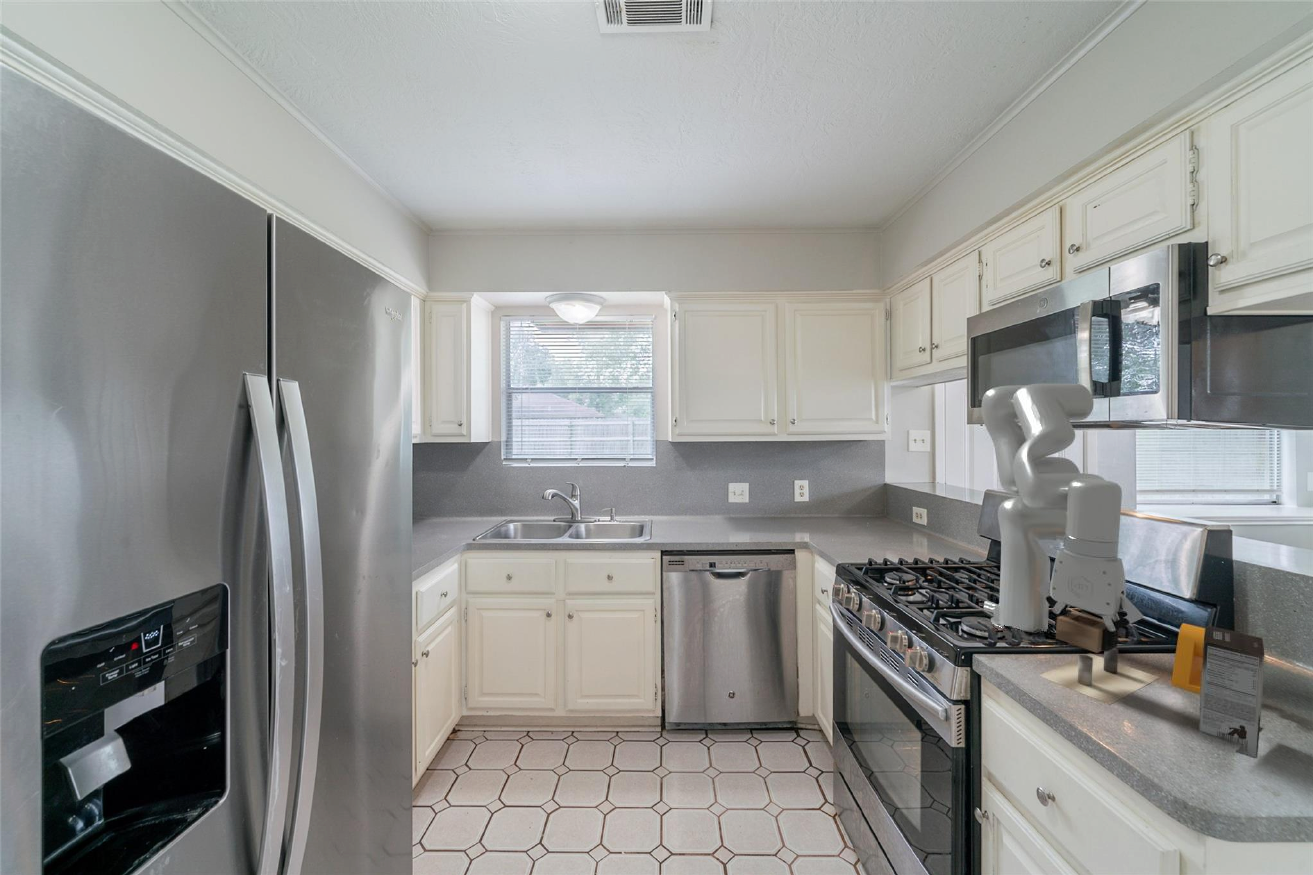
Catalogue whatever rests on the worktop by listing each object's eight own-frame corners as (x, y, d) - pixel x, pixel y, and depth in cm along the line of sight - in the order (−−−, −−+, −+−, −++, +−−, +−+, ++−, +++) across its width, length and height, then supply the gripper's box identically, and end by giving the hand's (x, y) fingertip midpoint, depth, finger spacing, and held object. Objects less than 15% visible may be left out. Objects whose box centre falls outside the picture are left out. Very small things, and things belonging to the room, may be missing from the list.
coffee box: (1199, 717, 88) (1205, 624, 87) (1257, 734, 83) (1263, 636, 83) (1196, 739, 82) (1202, 639, 81) (1258, 759, 77) (1265, 654, 76)
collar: (1055, 638, 98) (1057, 617, 97) (1073, 630, 101) (1074, 611, 100) (1096, 652, 92) (1098, 631, 92) (1114, 644, 95) (1115, 623, 95)
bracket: (1228, 712, 90) (1232, 644, 89) (1170, 693, 96) (1174, 629, 95) (1241, 694, 96) (1246, 630, 95) (1186, 677, 102) (1190, 617, 101)
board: (1038, 683, 99) (1039, 649, 99) (1089, 660, 108) (1091, 629, 108) (1109, 712, 89) (1111, 676, 89) (1159, 685, 98) (1161, 651, 98)
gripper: (1027, 538, 101) (1022, 627, 102) (1142, 563, 86) (1134, 667, 87) (1048, 533, 104) (1043, 619, 106) (1162, 556, 89) (1154, 657, 90)
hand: (1084, 640), depth 96 cm, fingers closed on collar, 6 cm apart
